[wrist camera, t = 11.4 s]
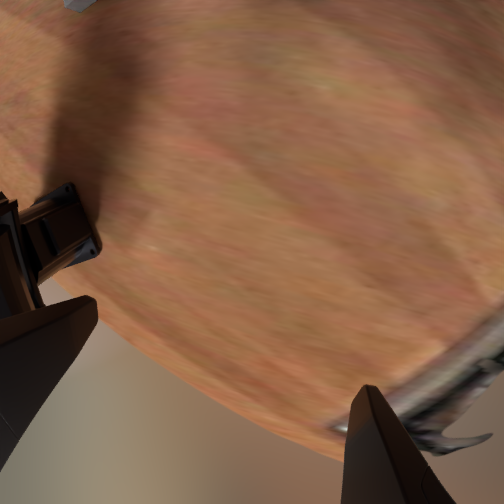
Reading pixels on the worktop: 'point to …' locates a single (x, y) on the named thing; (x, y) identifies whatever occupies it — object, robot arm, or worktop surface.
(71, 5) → the tray
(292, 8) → the worktop surface
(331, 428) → the worktop surface
